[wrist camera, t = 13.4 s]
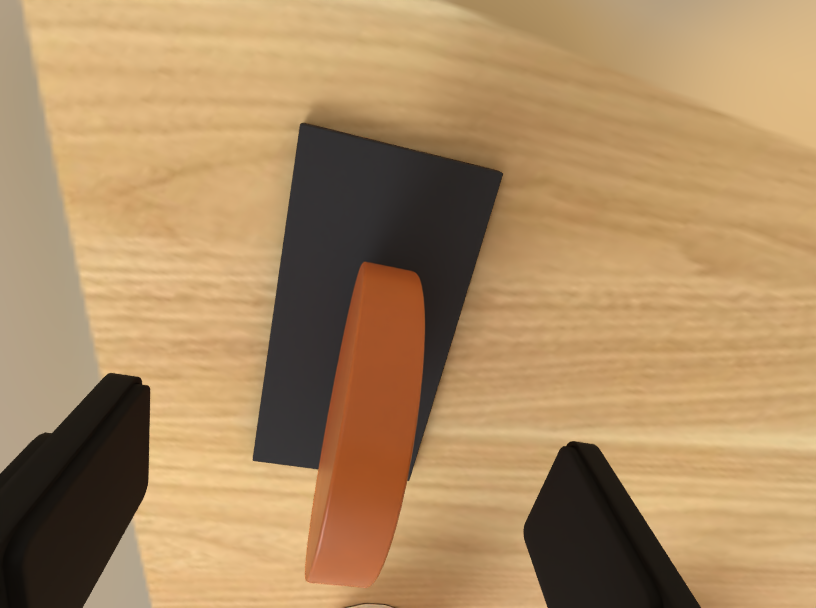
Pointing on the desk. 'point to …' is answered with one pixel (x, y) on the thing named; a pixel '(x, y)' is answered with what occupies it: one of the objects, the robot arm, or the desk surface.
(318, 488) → the disc
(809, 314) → the desk surface
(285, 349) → the mat
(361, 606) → the shot glass
